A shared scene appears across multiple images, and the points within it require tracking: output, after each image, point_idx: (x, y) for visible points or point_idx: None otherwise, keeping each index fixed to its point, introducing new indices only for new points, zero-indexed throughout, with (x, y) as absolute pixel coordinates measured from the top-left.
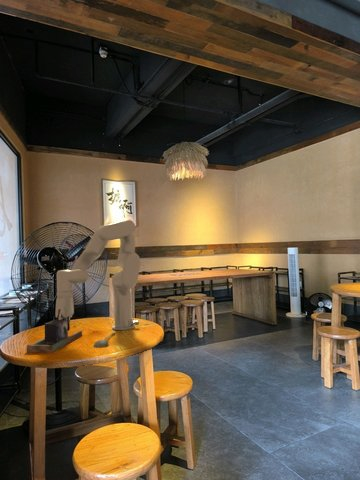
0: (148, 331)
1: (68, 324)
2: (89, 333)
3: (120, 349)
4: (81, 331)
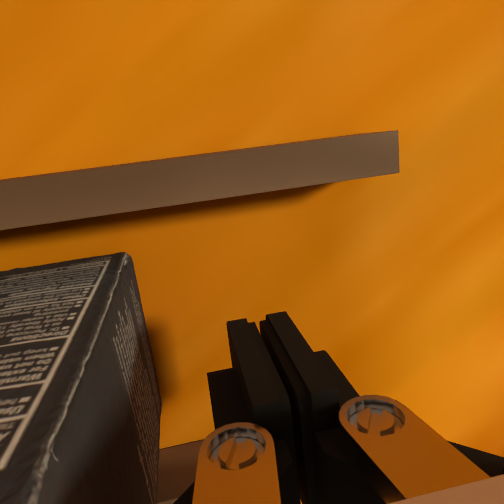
0: None
1: (301, 497)
2: (470, 440)
3: None
4: None
